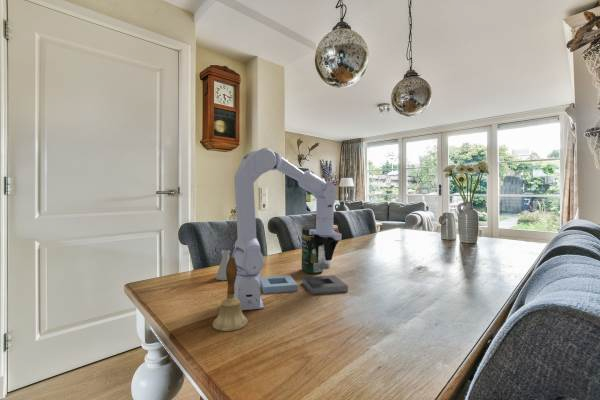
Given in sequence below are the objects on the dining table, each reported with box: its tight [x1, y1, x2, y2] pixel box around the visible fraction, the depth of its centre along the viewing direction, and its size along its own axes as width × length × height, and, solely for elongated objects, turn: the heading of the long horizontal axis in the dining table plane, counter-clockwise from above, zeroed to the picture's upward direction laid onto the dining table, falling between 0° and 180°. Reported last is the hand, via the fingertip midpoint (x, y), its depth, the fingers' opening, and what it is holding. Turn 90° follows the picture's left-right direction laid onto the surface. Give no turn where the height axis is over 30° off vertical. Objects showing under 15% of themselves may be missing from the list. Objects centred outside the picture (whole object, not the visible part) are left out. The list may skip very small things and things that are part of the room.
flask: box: [215, 250, 231, 281], centre depth 105 cm, size 7×7×10 cm
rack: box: [260, 274, 299, 294], centre depth 96 cm, size 11×11×2 cm
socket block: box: [301, 274, 349, 296], centre depth 96 cm, size 12×12×2 cm
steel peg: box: [318, 244, 331, 270], centre depth 96 cm, size 4×4×8 cm
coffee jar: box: [301, 224, 324, 275], centre depth 116 cm, size 10×8×19 cm
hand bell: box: [211, 256, 249, 332], centre depth 69 cm, size 8×8×16 cm
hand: (324, 258), depth 96 cm, fingers closed on steel peg, 4 cm apart
